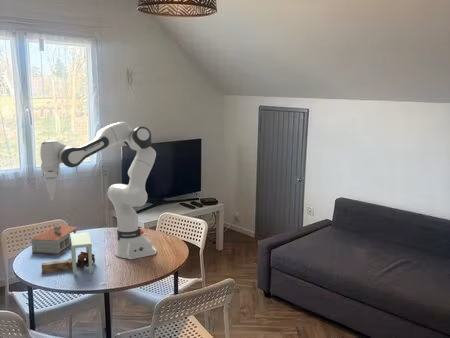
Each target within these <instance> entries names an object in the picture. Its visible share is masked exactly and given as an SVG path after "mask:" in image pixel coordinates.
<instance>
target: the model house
mask: <svg viewBox="0 0 450 338" xmlns="http://www.w3.org/2000/svg"><path fill="white" fill-rule="evenodd" d="M77 230H78V227H76V226H71V225H64V224H60V223H58V224H56V225H54V226H52V227H50V228H48V229H46V230H45V231H43V232H41V233H40V234H38V235H36V236H34V237H32V238H30V240H31V254H32V255H33V254H34V255H44V256H45V255H46V256H47V255H48V256H60V255H62V253H64V252H65V251H67V250H68V249H69V248H71V235H70V234H72V233H77Z"/></svg>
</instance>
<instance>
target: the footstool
mask: <svg viewBox="0 0 450 338" xmlns="http://www.w3.org/2000/svg"><path fill="white" fill-rule="evenodd" d="M70 236H71V247H70V251H71V253H70V254H71V260H72V274H73V276H74V277H76V276H77V267H76V263H77V256H76V252H77V251H76V249H81V248H85V251H86V253H88V255H89V267H88V274H93V273H94V272H93V260H92V254H93V251H92V250H93V249H92V240H91V237H90V232H89V231H86V232H85V231H83V232H76V233H74V232H72V233H70Z"/></svg>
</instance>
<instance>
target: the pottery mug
mask: <svg viewBox="0 0 450 338" xmlns="http://www.w3.org/2000/svg"><path fill="white" fill-rule="evenodd" d="M95 262H96V258H95V254H93V253H92V264H95ZM85 267H86V268H89V255H88V253H86V252H85V251H80V252H79V254H78V255H77V259H76V268H78V269H83V270H84V269H85Z"/></svg>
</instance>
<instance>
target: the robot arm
mask: <svg viewBox="0 0 450 338" xmlns="http://www.w3.org/2000/svg"><path fill="white" fill-rule="evenodd" d="M120 143H124V144H125V146H127V148H128V149H129V150H130V151H133V152H136V154H135V157H134V159H133V160H132V162H131V164H130V167H129V168H128V170H127V175H128V177H129V181H128V184H125V183H114V184H111V185H110V186H109V187H108V189H107V193H106V194H107V195H106V196H107V198H108V199H109V200H110V202H111V203H112V206H113V207H114V210H115V212H116V213H115V215H116V221H117V222H116V223H117V229H116V240H117V242H116V244H117V245H116V250H115V254H114V255H115V256H116V257H118V258H122V259H127V260H135V259H139V258H143V257H144V258H145V257H149V256H154V255H156V254H157V249H156V248H155V246H153V244H152V241H151V239H150V238H148V237H147V236H145V235H144V232H145V231H144V230H143V229H141V228H140V227H139V216H138V215H139V214H138V213H137V212H136V211H135V210H134V208H138V207H139V208H140V207H143V206H145V204H146V203H147V201H148V193H147V191H146V183H147V179H148V177H149V175H150V173H151V170H152V169H153V167H154V166H153V165H154V164H155V160H156V157H157V152H156V150H155V149H154V148H153V147H152V143H153V142H152V133H151V129H149V128H147V127H146V126H137V127H136V128H134V129H133V128H132V127H131V126H130V125H129V124H128V122H126V121H118V122H115V123H111V124H109V125H107V126H105V127H103V128H101V129H99V130H98V131H96V134H95V138H94V139H93V140H91V141H89V142H88V143H85V144H83V145H81V146H78V147H73V146H71V145H67V144H64V143H62V142H59V141H58V140H56V139H50V140H45V141H43V142H42V143H41V144H40V152H39V153H40V160H41V165H40V168H41V170H40V171H41V176H42V177H43V178H44V180H45V185H46V190H47V194H49V200H50V201H53V200H55V193H56V188H57V179H58V178H59V177H58V176H60V175H61V170H60V169H61V165H60V164H64V166H66V167H68V168H76V167H79V166H80V165H81V164H82V163H83V162H84V161H85V160H86V159H87V158H89V157H91V156H93V155H95V154H97V153H98V152H101V151H102V150H105V149H108V148H110V147H114V146H115V145H118V144H120Z"/></svg>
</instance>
